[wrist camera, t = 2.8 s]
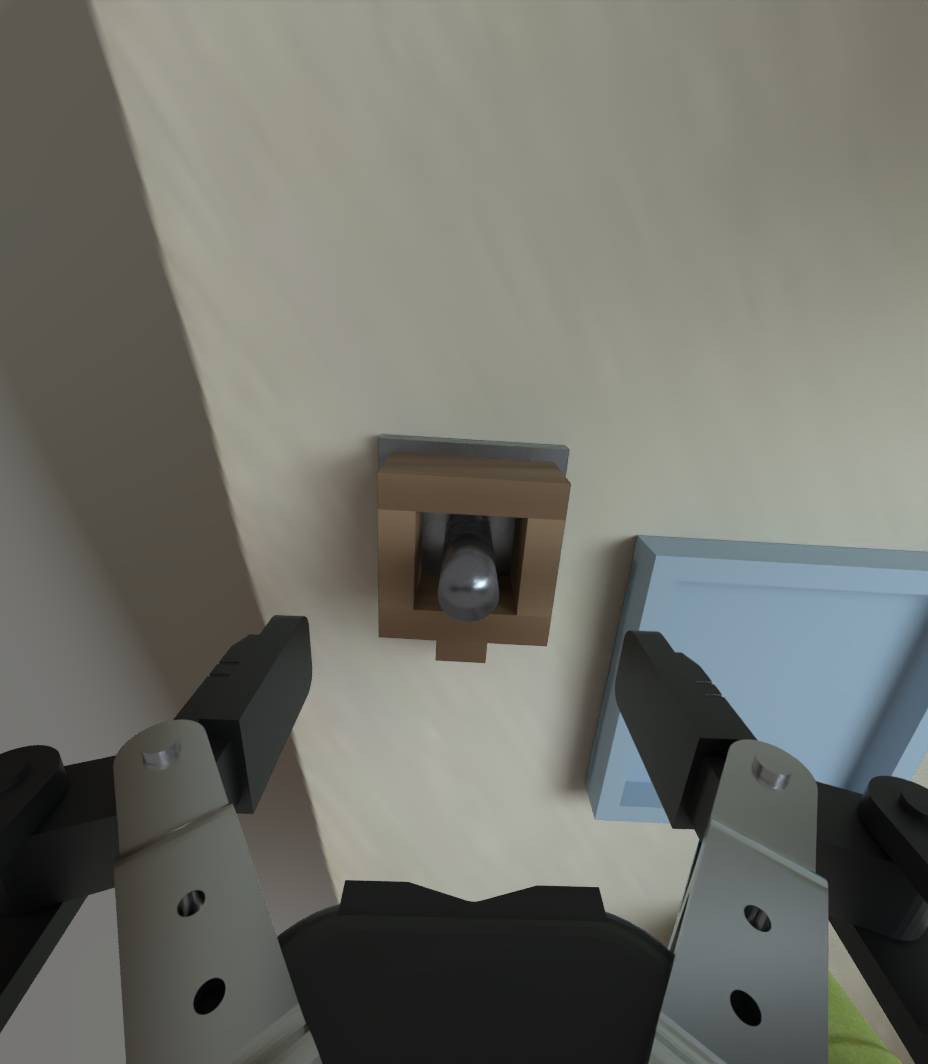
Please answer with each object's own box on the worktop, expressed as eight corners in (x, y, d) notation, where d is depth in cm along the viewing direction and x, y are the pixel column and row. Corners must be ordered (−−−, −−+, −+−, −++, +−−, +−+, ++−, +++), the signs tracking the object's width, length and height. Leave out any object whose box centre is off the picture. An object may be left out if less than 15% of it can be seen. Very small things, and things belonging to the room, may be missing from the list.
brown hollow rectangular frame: (392, 452, 17) (377, 472, 14) (554, 462, 17) (570, 483, 14) (391, 636, 20) (379, 682, 17) (529, 643, 20) (540, 691, 17)
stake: (382, 434, 18) (344, 471, 12) (565, 445, 18) (607, 487, 12) (383, 595, 20) (352, 685, 15) (542, 604, 20) (570, 697, 15)
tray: (637, 535, 19) (656, 555, 17) (971, 554, 19) (1025, 576, 17) (585, 783, 24) (594, 819, 22) (849, 796, 24) (880, 833, 22)
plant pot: (656, 880, 27) (737, 1106, 19) (823, 864, 26) (981, 1090, 18) (658, 972, 30) (727, 1198, 22) (806, 960, 30) (932, 1187, 22)
